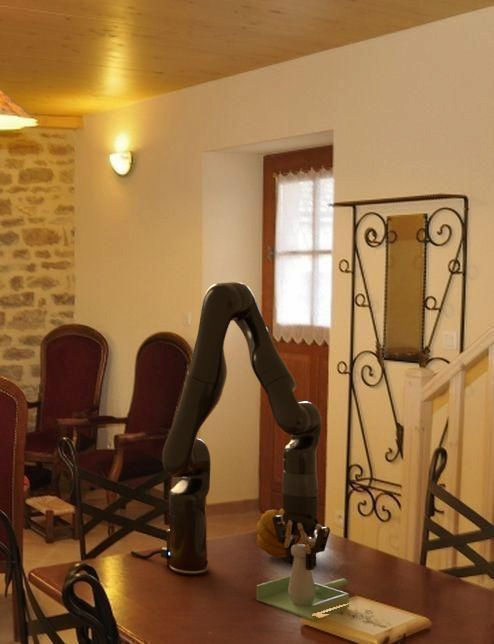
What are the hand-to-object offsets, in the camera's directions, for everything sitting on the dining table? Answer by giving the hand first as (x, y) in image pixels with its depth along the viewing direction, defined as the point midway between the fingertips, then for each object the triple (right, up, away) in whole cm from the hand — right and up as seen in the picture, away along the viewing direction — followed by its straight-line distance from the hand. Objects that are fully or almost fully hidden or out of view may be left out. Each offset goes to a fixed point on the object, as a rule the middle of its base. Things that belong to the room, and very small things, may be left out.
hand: (301, 566), depth 202 cm
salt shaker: (0, -8, 0) cm, 8 cm away
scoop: (+5, -9, +3) cm, 10 cm away
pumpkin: (+10, -9, +33) cm, 36 cm away
